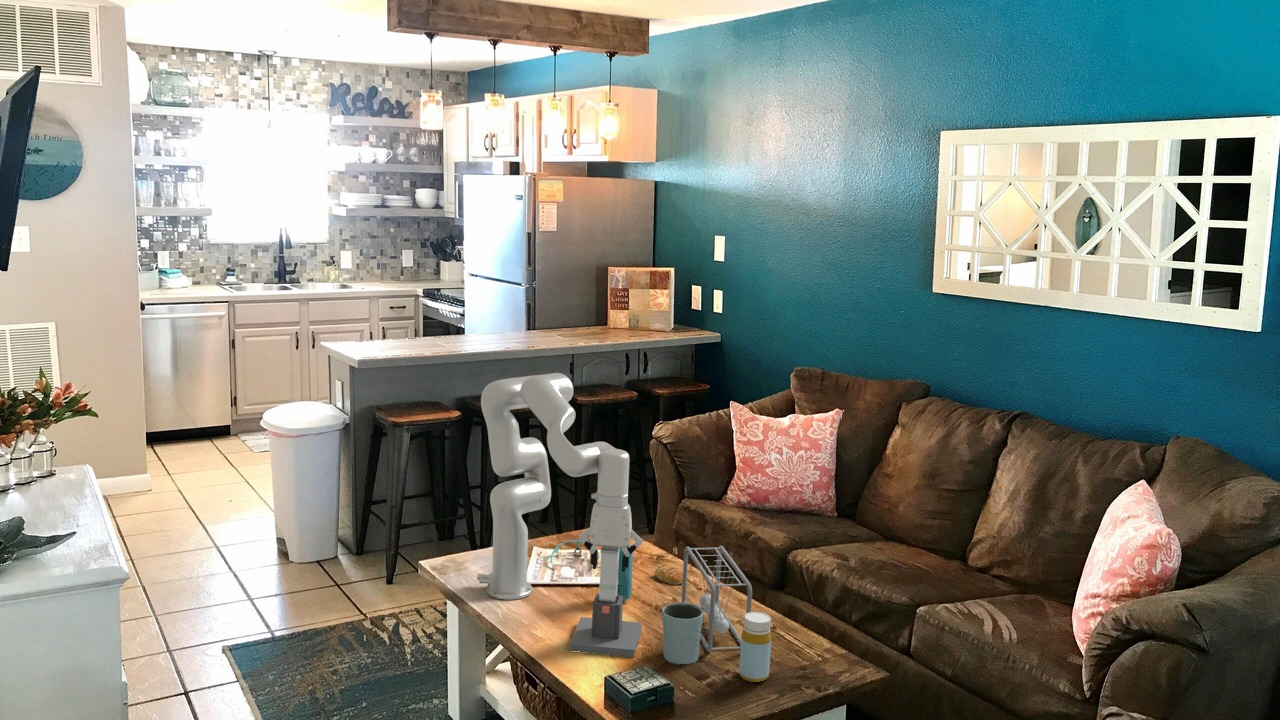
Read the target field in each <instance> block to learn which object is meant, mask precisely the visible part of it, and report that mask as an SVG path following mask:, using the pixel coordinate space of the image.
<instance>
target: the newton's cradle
mask: <svg viewBox="0 0 1280 720" xmlns="http://www.w3.org/2000/svg"><path fill="white" fill-rule="evenodd" d="M693 550H694V551H695V552H696V554H697V556H698V557H699V558H700V559H698V558H697V557H696V555H695V554H694V553H693ZM699 550H714V551H715V552H716V554H713V555H711V554H709V555H708V554H706V555H705V554H704V555H703V554H702V555H701V554H700V553H699V552H698V551H699ZM722 555H723V556H724V557H725V559H726V560H727V561H728V562H729V564H730V565H731V567H732V568H733V570H734V571H735V572H736V574H737V575H738V576H739V577H740V579H741V581H742V582H743V583H741V581H740V580H739V578H738V577H737V576H736V575H735V573H734V571H733V570H732V568H731V567H730V566H729V564H728V563H727V562H726V560H725V559H724V558H723V556H722ZM706 556H707V557H708V556H709V557H710V556H712V557H713V556H716V560H715V565H714V569H713V571H711V569H710V567H713V565H709V566H708V565H707V564H706V561H705V560H704V559H703V558H702V557H706ZM689 557H690V558H691V561H693V563H694V565H695V566H696V568H697V569H698V571H699V572H700V574H701V576H702V579H703V582H705V583H706V584H705V583H703V587H704V589H708V590H707V593H706V591H704V593H703V594H701V595H700V597H699V605H697V606H698V607H700V608H701V609H702V610H703V612H704V613H705V614H706V617H707V618H708V619H709V621H708V634H707V635H708V636H707V638H708V639H707V640H706V639H705V636H704V634H703V633H702V632H701V634H700V643H701V644H702V646H703V647H704V649H705V651H706V652H707V653H710V652H711V651H712V650H731V649H732V650H734V649H741V636H740V635H739V633H738V630H736V628H735V627H734V625H733V624H732V622H731V621H730V619H729V617H728V616H727V615H726V612H727V608H728V603H729V600H730V596H731V592H732V588H733V587H734V586H735V587H736V586H737V587H738V586H739V587H740V586H746V588H747V595H746V596H747V600H746V612H745V615H746V614H747V613H750V612H752V601H753V587H752V583H751V582H750V581H749V580H748V579H747V577H746V575H745V574H744V573H743V571H742V570H741V569H740V568H739V565H737V564H736V562H735V561H734V559H733V558H732V557H731V556H730V554H729V553H728V551H727V550H726V549H725V548H724V546H723V545H719V546H717V547H690V546H685V548H684V551H683V566H682V567H683V568H682V574H683V582H682V583H681V584H682V585H681V587H682V588H681V603H687V601H686V599H687V585H688V584H687V583H688V582H687V580H688V563H689ZM699 560H700V561H699ZM702 563H703V564H704V565H703V564H702ZM723 563H724V564H725V566H724V567H725V568H724V571H722V573H723V575H722V576H721V569H722V564H723ZM703 566H704V567H705V568H704V567H703ZM727 568H728V571H726V569H727ZM706 569H707V571H706ZM727 572H728V576H727V577H724V576H725V573H727ZM707 573H708V574H707ZM730 574H732V575H733V577H732V576H730ZM710 575H711V578H710ZM726 578H727V580H726V583H725V584H723V580H724V579H726ZM729 578H733V579H732V582H731V583H730V584H729V583H728V581H729ZM735 579H736V581H737V583H734V580H735ZM714 581H715V584H714ZM705 585H706V586H705ZM706 587H707V588H706ZM722 587H725V589H724V593H723V597H722V600H721V603H720V601H719V600H720V593H721V588H722ZM727 587H730V590H729V595H728V598H727V603H726V607H725V610H724V609H723V608H722V606H723V601H724V599H725V593H726V590H727ZM720 604H721V605H720ZM714 629H715V631H716V632H717V633H719V634H725V633H727V632H728V631H729V630H730V631H731V633H732V635H733V636H734V638H735V640H736V639H737V640H736V641H737V642H739V643H738V645H739V646H726V647H725V646H724V647H713V643H714V642H713V641H714Z"/></svg>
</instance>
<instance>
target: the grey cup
mask: <svg viewBox="0 0 1280 720" xmlns="http://www.w3.org/2000/svg"><path fill="white" fill-rule="evenodd" d="M698 606H699V605H696V604H692V603H687V602H686V603H682V602H673V603H669V604H666V605H664V606H663V607H662V610H661V615H662V616H661V618H662V633H663V634H662V638H663V640H662V642H663V648H662V650H663V658H664V660H665V661H667V662H669V663H670V664H674V663H675V665H680V664H684V665H685V664H687V665H692V664H695V663H697V662H698V660H699V655H700V643H701V640H700V634H701V633H702V627H703V621H704V620H703V619H704V609H703V608H700V607H698ZM691 663H692V664H691ZM684 665H683V666H684ZM685 666H686V665H685Z"/></svg>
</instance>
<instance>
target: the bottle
mask: <svg viewBox="0 0 1280 720" xmlns="http://www.w3.org/2000/svg"><path fill="white" fill-rule="evenodd" d="M771 622H772V619H771V616H770V615H769V614H767V613H764V612H760V611H751V612H750V613H747V614H746V613H745V614H744V619H743V630H742V632H741V636H740V638H741V646H740V647H741V648H739V649H740V651H739V666H738V667H739V668H738V675H739V676H740V677H742V678H743V679H742V678H741V679H742V680H744V679H745V680H747V681H746V682H748V681H751V682H750V683H752V682H760V681H763V682H765V681H766V680H767V679H768V678H769V676H770V675H769V674H770V665H771V651H772V650H771V647H772V634H771ZM745 680H744V681H745ZM764 680H765V681H764ZM760 683H761V682H760Z"/></svg>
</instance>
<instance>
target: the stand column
mask: <svg viewBox="0 0 1280 720" xmlns="http://www.w3.org/2000/svg"><path fill="white" fill-rule="evenodd" d="M619 549H620V547H609V546H601V549H600V570H599V574H600V575H599V585H598V589H599V593H598V594H599V602H601V603H613V604H617V590H618V568H619Z"/></svg>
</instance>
